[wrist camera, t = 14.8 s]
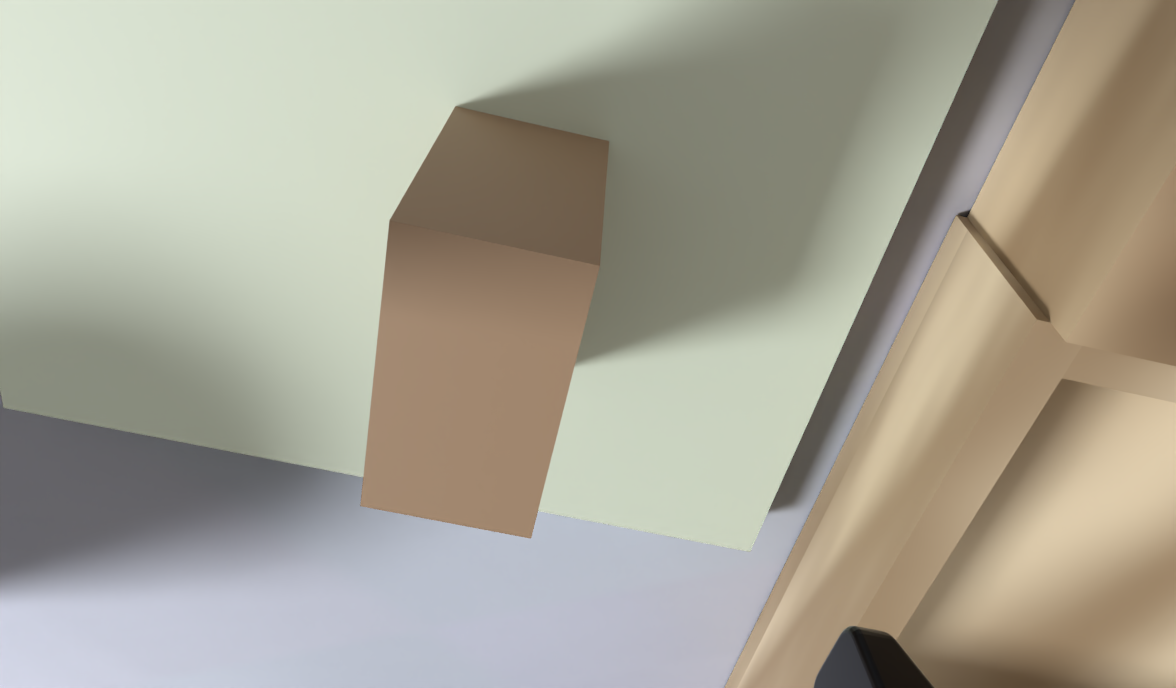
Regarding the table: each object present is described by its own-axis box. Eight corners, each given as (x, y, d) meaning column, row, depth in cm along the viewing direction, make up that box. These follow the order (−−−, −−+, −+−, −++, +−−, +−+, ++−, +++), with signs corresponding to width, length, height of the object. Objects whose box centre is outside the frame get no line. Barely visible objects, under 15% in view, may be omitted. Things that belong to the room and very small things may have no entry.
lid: (973, -36, 13) (1165, 59, 8) (742, 504, 19) (778, 738, 14) (-54, -294, 12) (-504, -353, 7) (45, 367, 18) (-167, 572, 13)
